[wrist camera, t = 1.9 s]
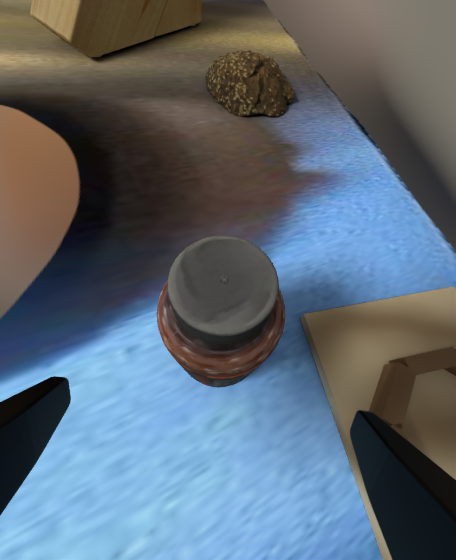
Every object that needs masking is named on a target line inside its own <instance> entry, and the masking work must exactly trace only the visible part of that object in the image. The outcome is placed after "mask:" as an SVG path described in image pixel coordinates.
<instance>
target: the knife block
mask: <svg viewBox="0 0 456 560" xmlns="http://www.w3.org/2000/svg"><path fill="white" fill-rule="evenodd" d="M30 14H31V16H32V17H33V18H34V19H36V20H37V21H38V22H40V23H41V24H42V25H44V26H45V27H46V28H48V29H49V30H50V31H52V32H53V33H54V34H56V35H57V36H59V37H60V38H62V39H63V40H65V41H66V42H67V43H69V44H70V45H72V46H73V47H75V48H76V49H77V50H79V51H80V52H82V53H84V54H85V55H87V56H89V57H101V56H102V55H103V54H107V53H110V52H113V51H116V50H119V49H122V48H125V47H128V46H131V45H134V44H137V43H140V42H143V41H146V40H149V39H152V38H153V37H156V36H159V35H162V34H166V33H169V32H172V31H175V30H179V29H182V28H185V27H188V26H196V24H197V23H200V22H201V21H202V0H32V6H31V12H30Z"/></svg>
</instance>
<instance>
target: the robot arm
mask: <svg viewBox="0 0 456 560" xmlns="http://www.w3.org/2000/svg"><path fill="white" fill-rule="evenodd" d="M70 400H71V396H70V389H69V381H68V379H67V378H64V377H50V378H48V379H46V380H44V381H42V382H40V383H38V384H36V385H34V386H32V387H30V388H28V389H26V390H24V391H22V392H20V393H18V394H16V395H14V396H12V397H10V398H8V399H6V400H4V401H2V402H0V515H1V514H2V512H3V511H4V509H5V508H6V506H7V505H8V503H9V502H10V501H11V499H12V498H13V496H14V495H15V493H16V492H17V490H18V489H19V487H20V486H21V484H22V483H23V482H24V480H25V479H26V477H27V476H28V474H29V473H30V471H31V470H32V468H33V467H34V465H35V464H36V462H37V461H38V459H39V457H40V456H41V454H42V452H43V451H44V449H45V447H46V445H47V444H48V442H49V440H50V438H51V437H52V435H53V433H54V431H55V430H56V428H57V426H58V424H59V423H60V421H61V419H62V417H63V416H64V414H65V412H66V410H67V409H68V407H69V404H70ZM350 438H351V442H352V445H353V448H354V452H355V455H356V458H357V462H358V465H359V469H360V472H361V475H362V479H363V482H364V485H365V489H366V492H367V495H368V498H369V501H370V503H371V506H372V509H373V511H374V514H375V516H376V519H377V522H378V524H379V527H380V529H381V532H382V535H383V537H384V540H385V542H386V545H387V547H388V550H389V553H390V555H391V558H392V560H456V480H455V479H454V478H453V477H452V476H450V475H449V474H448V473H447V472H445V471H444V470H443V469H442V468H441V467H439V466H438V465H437V464H436V463H434V462H433V461H432V460H431V459H430V458H428V457H427V456H426V455H425V454H423V453H422V452H421V451H420V450H419V449H417V448H416V447H415V446H414V445H413V444H411V443H410V442H409V441H408V440H406V439H405V438H404V437H403V436H402V435H400V434H399V433H398V432H397V431H395V430H394V429H393V428H392V427H391V426H389V425H388V424H387V423H386V422H384V421H383V420H382V419H381V418H380V417H378V416H377V415H376V414H375V413H373V412H371V411H365V410H358V411H357V412H356V414H355V417H354V419H353V422H352V425H351V428H350Z"/></svg>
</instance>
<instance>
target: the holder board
mask: <svg viewBox="0 0 456 560" xmlns="http://www.w3.org/2000/svg"><path fill="white" fill-rule="evenodd" d="M300 320H301V323H302V326H303V329H304V332H305V335H306V337H307V340H308V343H309V346H310V349H311V352H312V355H313V358H314V361H315V364H316V367H317V369H318V372H319V375H320V378H321V381H322V384H323V387H324V390H325V393H326V396H327V398H328V401H329V404H330V407H331V410H332V413H333V416H334V419H335V422H336V425H337V428H338V430H339V433H340V436H341V439H342V442H343V445H344V448H345V451H346V454H347V457H348V459H349V462H350V465H351V468H352V471H353V474H354V477H355V480H356V483H357V486H358V489H359V491H360V494H361V497H362V500H363V503H364V506H365V509H366V512H367V515H368V518H369V520H370V523H371V526H372V529H373V532H374V535H375V538H376V541H377V544H378V547H379V549H380V552H381V555H382V558H383V560H392V558H391V555H390V553H389V550H388V547H387V545H386V542H385V540H384V537H383V535H382V532H381V529H380V527H379V524H378V522H377V519H376V516H375V514H374V511H373V509H372V506H371V503H370V501H369V498H368V495H367V492H366V489H365V485H364V482H363V479H362V475H361V472H360V469H359V465H358V462H357V458H356V455H355V452H354V448H353V445H352V442H351V438H350V428H351V425H352V422H353V419H354V417H355V414H356V412H357V411H358V410H365V411H371V412H373V413H375V414H376V415H377V416H378V417H380V418H381V419H382V420H383V421H384V422H386V423H387V424H388V425H389V426H391V427H392V428H393V429H394V430H395V431H397V432H398V433H399V434H400V435H402V436H403V437H404V438H405V439H406V440H408V441H409V442H410V443H411V444H413V445H414V446H415V447H416V448H417V449H419V450H420V451H421V452H422V453H423V454H425V455H426V456H427V457H428V458H430V459H431V460H432V461H433V462H434V463H436V464H437V465H438V466H439V467H441V468H442V469H443V470H444V471H445V472H447V473H448V474H449V475H450V476H452V477H453V478H454V479H455V480H456V289H455V288H454V286H453V287H447V288H442V289H437V290H431V291H426V292H420V293H415V294H409V295H404V296H398V297H393V298H387V299H382V300H376V301H371V302H366V303H360V304H355V305H349V306H344V307H338V308H333V309H327V310H322V311H316V312H311V313H305V314H303V315H302V316H301V317H300Z"/></svg>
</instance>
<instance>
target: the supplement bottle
mask: <svg viewBox="0 0 456 560" xmlns="http://www.w3.org/2000/svg"><path fill="white" fill-rule="evenodd" d="M157 322H158V328H159V331H160V335H161V337H162V340H163V342H164V345H165V346H166V348H167V349H168V351H169V352H170V353H171V355H172V356H173V357H174V358H175V360H176V361H177V362H178V363H179V364H180V365H181V366H182V367H183V368H184V370H186V372H187V373H188V374H189V375H190V376H191V377H193V378H194V379H195V380H197V381H199V382H201V383H202V384H205V385H208V386H212V387H226V386H230V385H233V384H236V383H238V382H239V381H241V380H243V379H244V378H245V377H246V376H248V375H249V374H250V373H251V372H252V371H253V370H255V369H256V368H257V367H258V366H259V365H260V364H262V363H263V362H264V361H265V360H266V359H267V358H268V357H269V356H270V354H271V353H272V352H273V350H274V349H275V347H276V346H277V344H278V342H279V339H280V337H281V334H282V332H283V327H284V322H285V306H284V301H283V298H282V295H281V291H280V289H279V283H278V276H277V272H276V269H275V267H274V265H273V263H272V262H271V260H270V259H269V257H268V256H267V255H266V254H265V253H264V252H263V251H262V250H261V249H260V248H259V247H257V246H256V245H254V244H253V243H251V242H249V241H247V240H244V239H241V238H238V237H232V236H212V237H207V238H204V239H202V240H199V241H197V242H195V243H193V244H192V245H190V246H188V247H186V249H185V250H184V251H182V252H181V253H180V254H179V256H178V257H177V258H176V259H175V262H174V263H173V265H172V267H171V269H170V273H169V277H168V281H167V282H166V284H165V286H164V287H163V289H162V292H161V294H160V297H159V301H158V307H157Z"/></svg>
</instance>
